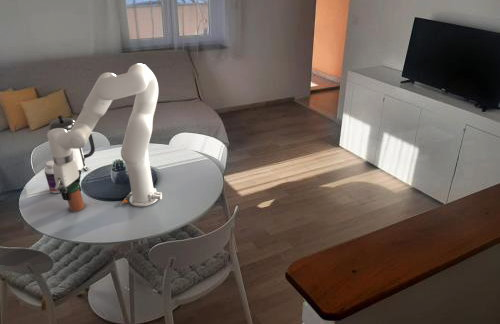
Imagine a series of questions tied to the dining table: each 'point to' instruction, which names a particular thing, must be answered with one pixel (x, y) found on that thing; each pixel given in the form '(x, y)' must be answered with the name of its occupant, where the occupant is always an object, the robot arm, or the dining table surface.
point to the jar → (76, 201)
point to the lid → (73, 187)
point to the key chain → (127, 198)
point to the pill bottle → (50, 176)
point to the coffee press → (77, 153)
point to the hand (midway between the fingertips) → (72, 195)
